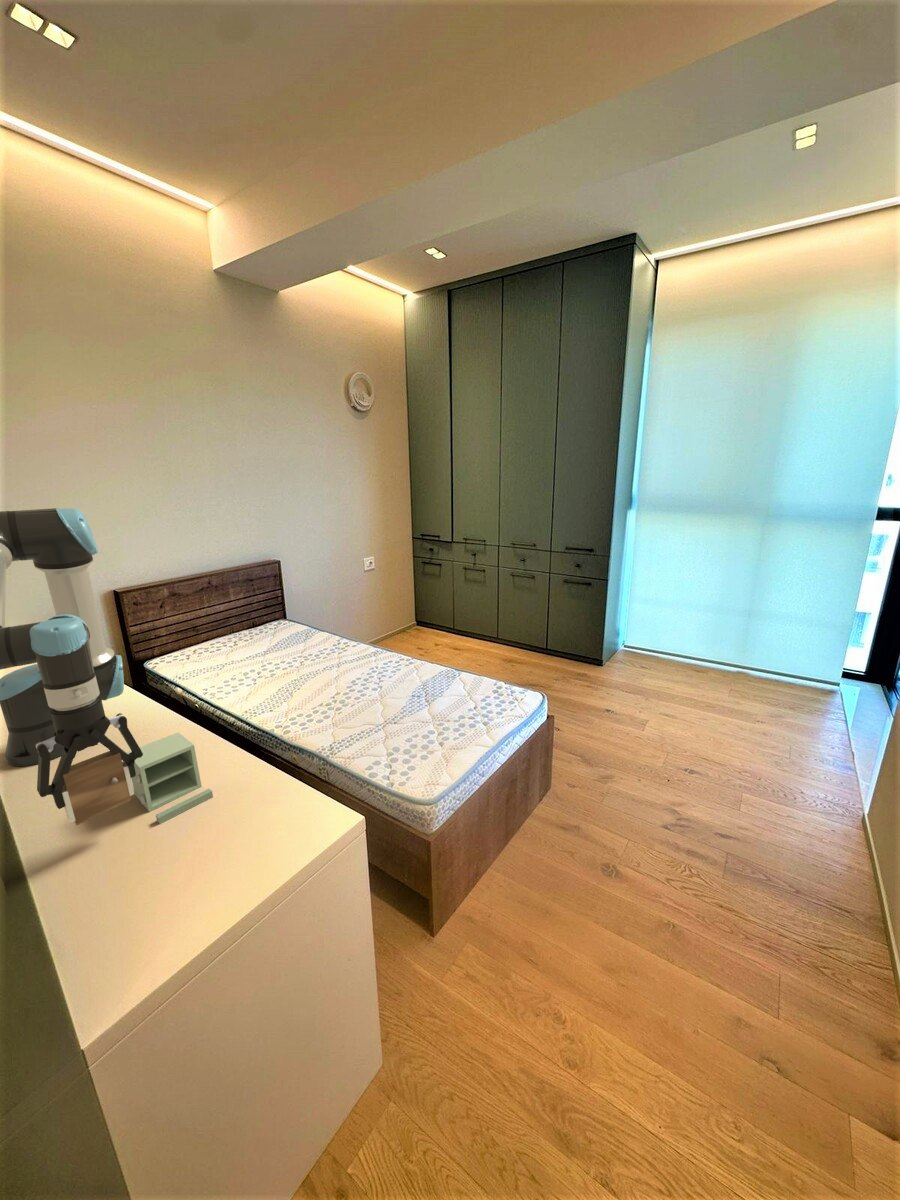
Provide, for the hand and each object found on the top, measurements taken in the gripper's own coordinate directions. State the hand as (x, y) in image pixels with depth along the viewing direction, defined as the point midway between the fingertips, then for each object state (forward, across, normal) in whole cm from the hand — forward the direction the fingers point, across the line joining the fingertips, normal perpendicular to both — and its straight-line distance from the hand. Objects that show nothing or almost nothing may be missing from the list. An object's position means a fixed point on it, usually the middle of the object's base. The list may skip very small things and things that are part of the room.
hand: (101, 804), depth 92 cm
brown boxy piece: (+1, 0, 0) cm, 1 cm away
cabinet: (+8, +13, +4) cm, 16 cm away
